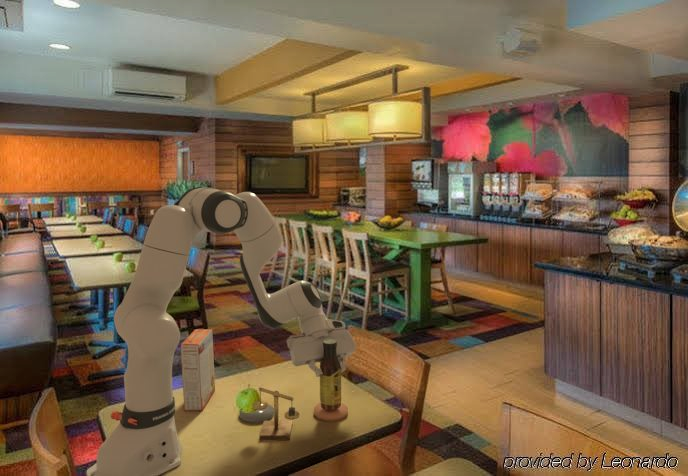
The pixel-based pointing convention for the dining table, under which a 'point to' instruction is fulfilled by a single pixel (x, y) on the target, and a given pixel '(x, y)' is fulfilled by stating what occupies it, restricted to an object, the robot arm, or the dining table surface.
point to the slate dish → (258, 415)
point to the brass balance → (276, 418)
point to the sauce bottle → (330, 377)
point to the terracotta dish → (330, 413)
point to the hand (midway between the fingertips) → (331, 373)
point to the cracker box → (197, 369)
